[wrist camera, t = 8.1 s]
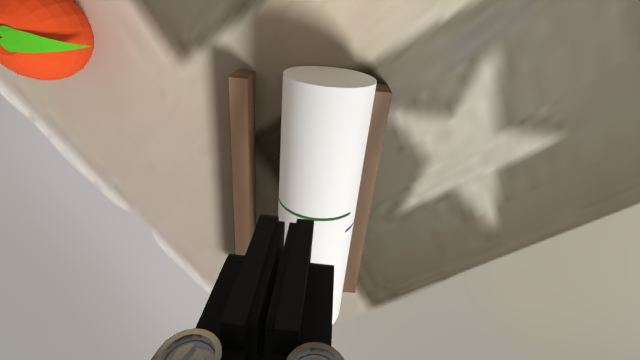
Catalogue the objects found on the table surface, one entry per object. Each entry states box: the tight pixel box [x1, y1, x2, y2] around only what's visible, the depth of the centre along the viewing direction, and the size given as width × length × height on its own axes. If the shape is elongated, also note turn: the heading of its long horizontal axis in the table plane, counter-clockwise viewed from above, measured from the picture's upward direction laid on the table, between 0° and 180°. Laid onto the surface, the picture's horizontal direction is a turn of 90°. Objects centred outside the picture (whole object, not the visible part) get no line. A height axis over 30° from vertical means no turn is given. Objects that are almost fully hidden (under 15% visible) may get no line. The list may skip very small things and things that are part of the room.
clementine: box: [0, 0, 94, 80], centre depth 26 cm, size 8×7×7 cm
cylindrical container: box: [278, 66, 377, 325], centre depth 32 cm, size 7×7×25 cm
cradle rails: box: [228, 70, 392, 293], centre depth 34 cm, size 13×22×3 cm, turn 175°
